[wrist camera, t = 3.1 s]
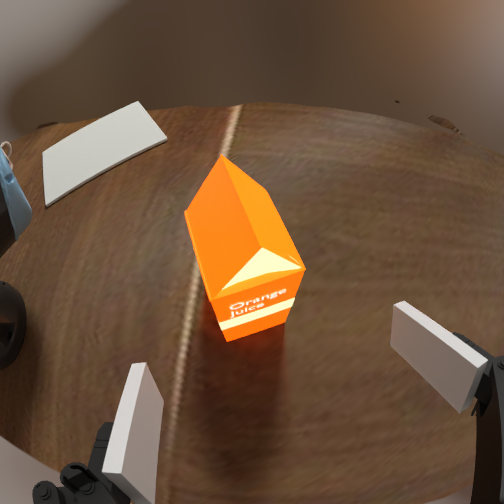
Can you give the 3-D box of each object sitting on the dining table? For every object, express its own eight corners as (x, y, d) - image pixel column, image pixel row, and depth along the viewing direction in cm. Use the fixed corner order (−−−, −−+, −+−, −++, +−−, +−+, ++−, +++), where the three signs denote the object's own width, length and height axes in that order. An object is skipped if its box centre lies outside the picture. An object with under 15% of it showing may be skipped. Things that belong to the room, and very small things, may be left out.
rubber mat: (47, 207, 44) (45, 205, 44) (43, 153, 53) (42, 152, 53) (167, 140, 52) (167, 137, 51) (138, 102, 61) (138, 101, 60)
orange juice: (225, 342, 33) (195, 268, 16) (205, 279, 37) (169, 166, 20) (286, 322, 34) (322, 229, 17) (261, 262, 38) (268, 141, 21)
